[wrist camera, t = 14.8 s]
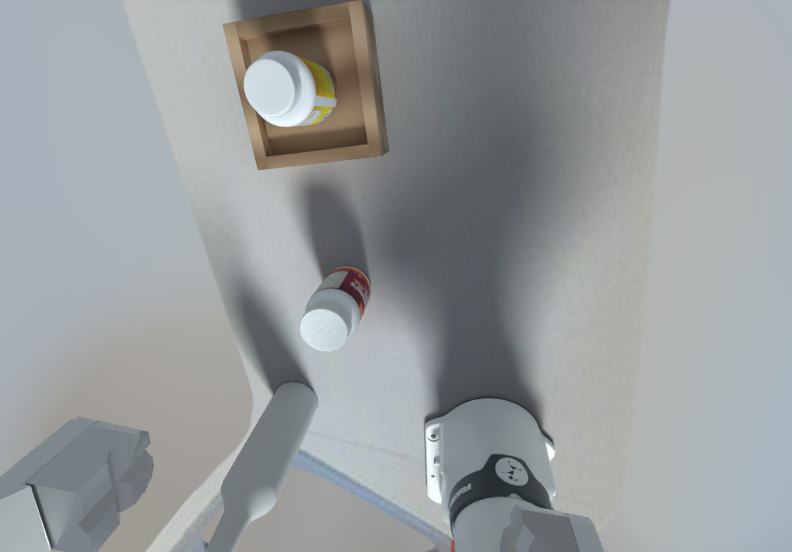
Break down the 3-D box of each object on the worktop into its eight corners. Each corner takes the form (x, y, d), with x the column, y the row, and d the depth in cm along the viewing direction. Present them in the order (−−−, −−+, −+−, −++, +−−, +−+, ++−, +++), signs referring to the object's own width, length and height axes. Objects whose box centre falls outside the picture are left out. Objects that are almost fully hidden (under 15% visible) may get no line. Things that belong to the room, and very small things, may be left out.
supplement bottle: (292, 52, 37) (242, 31, 28) (346, 77, 37) (314, 64, 28) (277, 111, 39) (225, 109, 30) (328, 134, 40) (292, 139, 30)
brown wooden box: (388, 151, 43) (381, 155, 38) (278, 164, 45) (257, 170, 40) (372, 15, 39) (361, -1, 34) (250, 35, 41) (222, 24, 35)
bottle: (305, 376, 57) (192, 594, 31) (325, 411, 59) (235, 642, 33) (267, 387, 58) (129, 603, 32) (288, 421, 60) (173, 649, 34)
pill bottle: (379, 299, 51) (363, 347, 40) (337, 313, 52) (311, 362, 42) (359, 257, 49) (337, 296, 38) (316, 273, 50) (284, 314, 40)
